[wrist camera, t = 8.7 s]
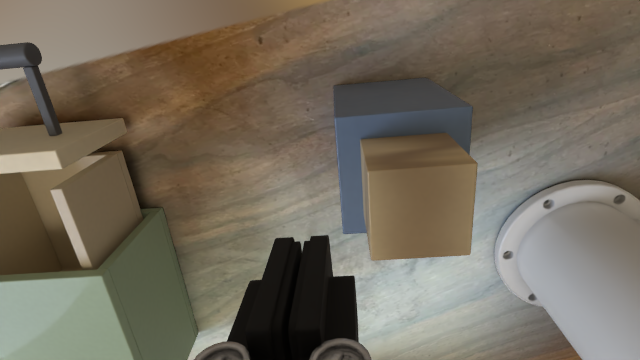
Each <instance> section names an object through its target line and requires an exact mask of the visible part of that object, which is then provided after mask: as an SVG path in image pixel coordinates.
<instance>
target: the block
mask: <svg viewBox="0 0 640 360" xmlns="http://www.w3.org/2000/svg"><path fill="white" fill-rule="evenodd" d="M360 151H361V171H362V191H363V211H364V219H365V225H366V231H367V237H368V244H369V250H370V256H371V260H372V261H374V260H391V259H409V258H426V257H443V256H461V255H470V252H471V239H472V227H473V214H474V202H475V189H476V177H477V162H476V161H475V160H474V159H473V158H472V157H471V156H470V155H469V154H468V153H467V152H466V151H465V150H464V149H463V148H462V147H461V146H460V145H459V144H458V143H457V142H456V141H455V140H454V139H453V138H452V137H451V136H450V135H449V134H448V133H435V134H422V135H409V136H397V137H384V138H371V139H361V140H360Z"/></svg>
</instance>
